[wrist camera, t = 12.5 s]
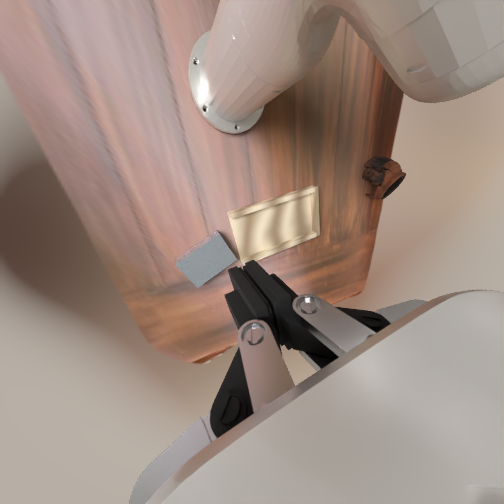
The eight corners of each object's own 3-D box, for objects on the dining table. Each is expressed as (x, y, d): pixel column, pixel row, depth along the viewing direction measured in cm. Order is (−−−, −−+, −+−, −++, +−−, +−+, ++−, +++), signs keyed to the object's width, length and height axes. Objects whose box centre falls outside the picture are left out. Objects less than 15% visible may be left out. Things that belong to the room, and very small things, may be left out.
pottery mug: (385, 154, 49) (415, 169, 45) (360, 186, 55) (385, 202, 51) (366, 149, 42) (399, 167, 38) (340, 187, 48) (366, 205, 44)
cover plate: (215, 229, 38) (219, 233, 35) (232, 254, 41) (237, 259, 39) (174, 258, 36) (175, 264, 34) (195, 280, 40) (197, 288, 38)
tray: (311, 185, 42) (318, 186, 41) (313, 232, 48) (319, 235, 46) (227, 212, 37) (230, 214, 35) (240, 261, 42) (244, 266, 41)
